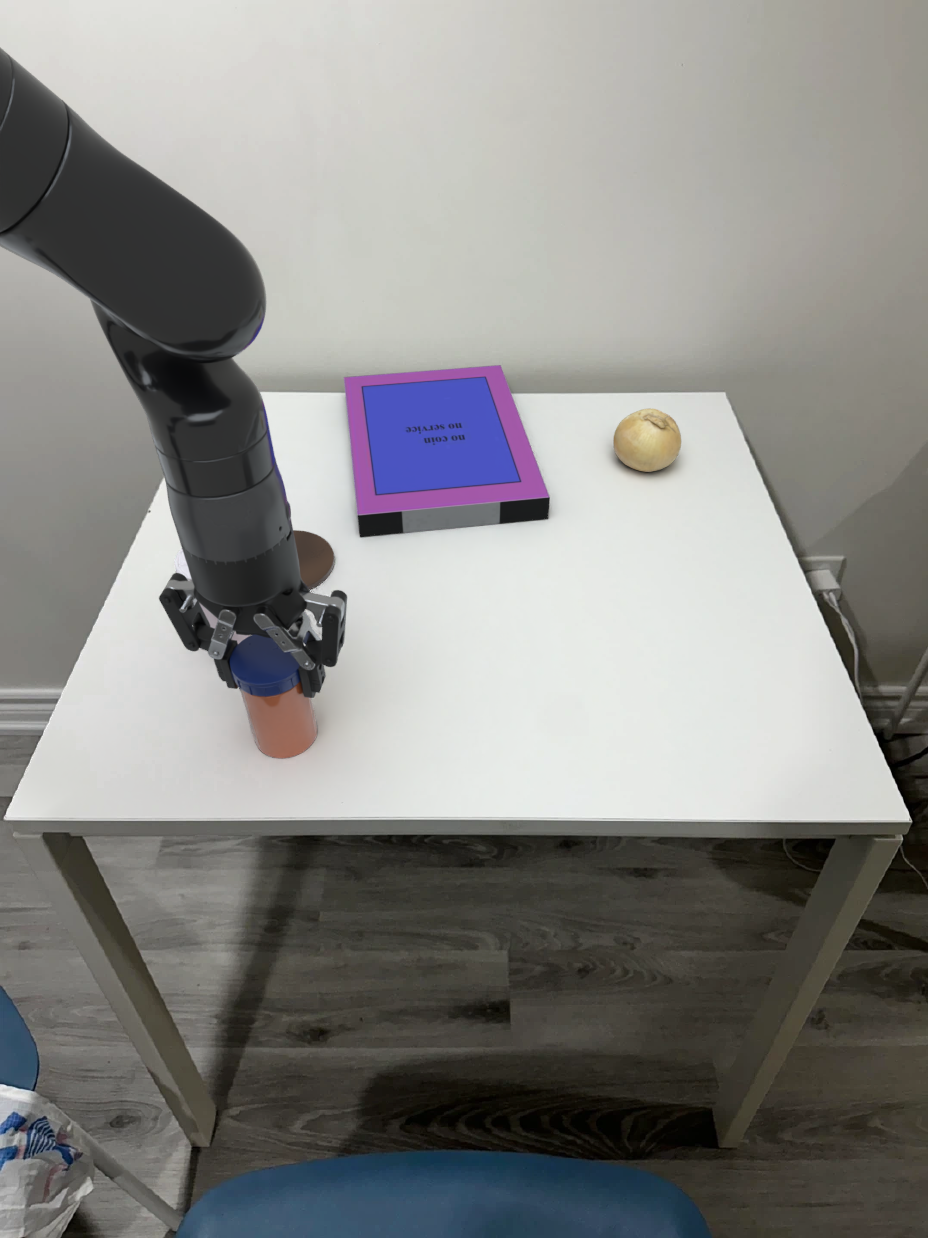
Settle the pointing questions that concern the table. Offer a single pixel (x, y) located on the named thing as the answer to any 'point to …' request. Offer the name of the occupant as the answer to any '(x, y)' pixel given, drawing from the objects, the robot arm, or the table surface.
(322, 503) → the table surface
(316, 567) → the coaster
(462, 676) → the table surface
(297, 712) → the jar
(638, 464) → the onion
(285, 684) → the jar lid
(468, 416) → the book
